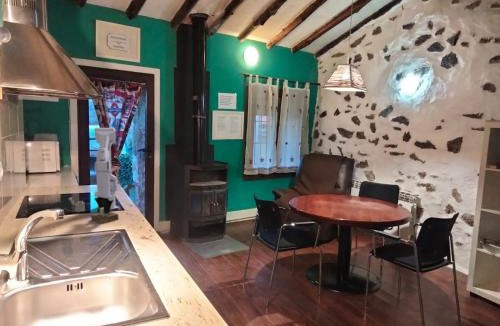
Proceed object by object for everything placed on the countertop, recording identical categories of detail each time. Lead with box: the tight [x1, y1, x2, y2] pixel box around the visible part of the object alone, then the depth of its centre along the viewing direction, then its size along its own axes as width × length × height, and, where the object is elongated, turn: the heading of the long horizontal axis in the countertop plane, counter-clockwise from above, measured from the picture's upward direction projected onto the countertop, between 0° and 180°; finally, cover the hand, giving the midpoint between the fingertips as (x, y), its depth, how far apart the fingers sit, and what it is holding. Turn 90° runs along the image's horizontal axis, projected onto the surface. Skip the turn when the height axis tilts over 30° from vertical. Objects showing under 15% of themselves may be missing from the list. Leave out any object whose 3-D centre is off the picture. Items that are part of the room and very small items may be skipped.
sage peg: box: [99, 207, 108, 216], centre depth 163 cm, size 3×3×6 cm
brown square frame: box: [90, 211, 119, 225], centre depth 163 cm, size 9×9×2 cm
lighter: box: [68, 196, 86, 213], centre depth 175 cm, size 7×2×8 cm, turn 130°
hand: (104, 212), depth 163 cm, fingers open, 4 cm apart
